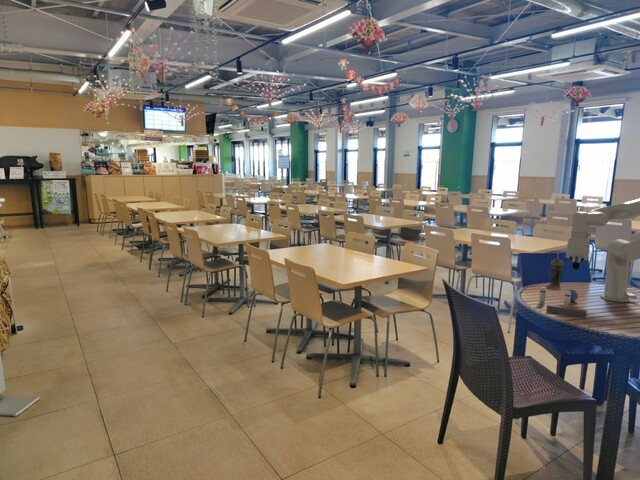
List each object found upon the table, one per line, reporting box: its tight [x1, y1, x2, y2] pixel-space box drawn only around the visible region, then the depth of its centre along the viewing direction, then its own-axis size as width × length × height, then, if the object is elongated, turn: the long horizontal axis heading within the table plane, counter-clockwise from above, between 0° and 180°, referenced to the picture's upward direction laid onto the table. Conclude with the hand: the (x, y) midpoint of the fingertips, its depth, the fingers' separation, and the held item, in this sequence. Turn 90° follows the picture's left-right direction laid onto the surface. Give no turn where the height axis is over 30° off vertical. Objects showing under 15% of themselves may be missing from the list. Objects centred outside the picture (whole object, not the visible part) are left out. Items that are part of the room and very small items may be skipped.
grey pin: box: [538, 286, 547, 306], centre depth 216 cm, size 2×2×8 cm
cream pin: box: [563, 290, 571, 308], centre depth 210 cm, size 2×2×8 cm
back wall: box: [546, 304, 588, 319], centre depth 201 cm, size 16×2×3 cm, turn 53°
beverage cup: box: [549, 250, 565, 286], centre depth 255 cm, size 7×7×20 cm
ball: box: [566, 289, 579, 302], centre depth 222 cm, size 6×6×6 cm
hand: (575, 269), depth 228 cm, fingers closed
